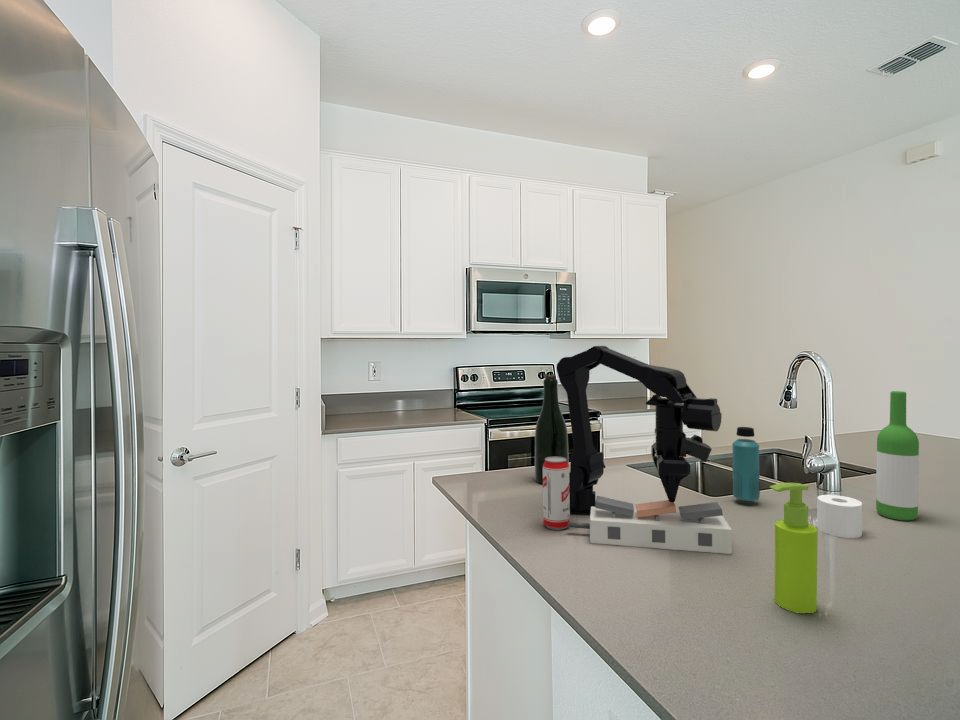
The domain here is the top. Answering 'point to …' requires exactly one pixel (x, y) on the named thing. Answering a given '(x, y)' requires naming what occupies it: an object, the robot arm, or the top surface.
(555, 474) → the beer can
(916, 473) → the wine bottle
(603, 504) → the rocker
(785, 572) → the soap dispenser
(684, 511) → the rocker
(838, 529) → the toilet paper
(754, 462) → the beverage bottle
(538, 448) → the beer bottle
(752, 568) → the top surface
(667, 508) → the rocker
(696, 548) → the power strip
